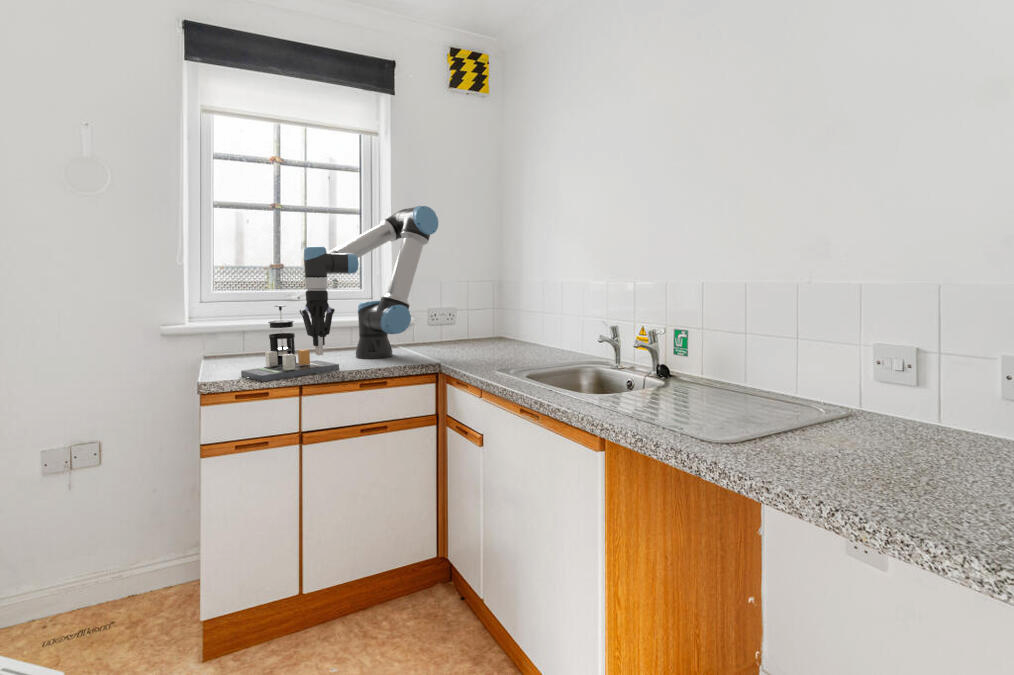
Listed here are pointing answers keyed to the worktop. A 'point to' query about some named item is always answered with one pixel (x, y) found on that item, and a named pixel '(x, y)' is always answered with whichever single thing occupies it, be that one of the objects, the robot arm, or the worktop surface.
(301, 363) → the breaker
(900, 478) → the worktop surface
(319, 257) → the robot arm
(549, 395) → the worktop surface
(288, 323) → the french press
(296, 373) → the panel
